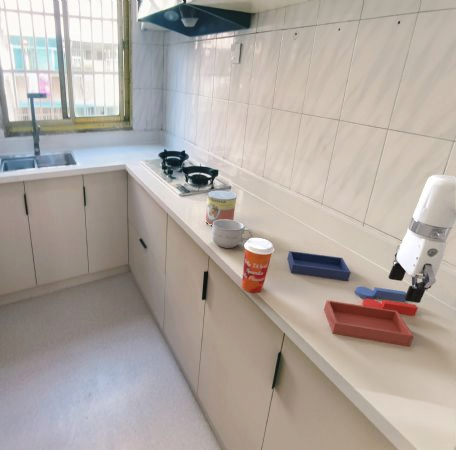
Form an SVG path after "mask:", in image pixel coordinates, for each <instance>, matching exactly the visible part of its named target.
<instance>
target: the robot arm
mask: <svg viewBox="0 0 456 450" xmlns="http://www.w3.org/2000/svg"><path fill="white" fill-rule="evenodd" d="M455 223H456V176H454V175H449V174H432V175H430V176H429V177H428V178H427V180H426V182H425V184H424V187H423V188H422V192H421V193H420V197H419V199H418V202H417V204H416V207H415V209H414V211H413V214H412V217H411V219H410V222H409V224H408V227H407V231H406V233H405V235H404V237H403V239H402V241H401V243H400V244H398V245H397V246H396V250H395V251H396V252H395V254H394V260H393V262H392V264H393V265H392V267H391V270H390V272H389V274H388V278H387V279H389V280H392V281H398V282H402V281H403V280H404V278H405V275H406V273H407V274H408V275H409V276H410V277H411V285H409V286H408V288H407V291H406V295H405V298H404V299H405V302H410V303H415V304H419V303H421V301H422V299H423V296H424V294H425V292H426V291H428V290H429V289H431V287H433V285H434V284H435V283H436V281H437V279H436V276H437V274H438V272H439V269H440V266H441V263H442V261H443V258H444V255H445V251H446V246H447V239H448V238H449V236H450V233H451V231H452V229H453V226H454V224H455ZM419 274H420V275H419ZM418 280H421V281H419V282H418Z"/></svg>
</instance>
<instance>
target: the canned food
mask: <svg viewBox="0 0 456 450" xmlns="http://www.w3.org/2000/svg"><path fill="white" fill-rule="evenodd" d="M237 196H238V195H237V194H236V193H234V192H232V191H228V190H220V189H214V190H210V191H208V192H207V201H206V210H205V211H206V213H205V220H206V221H207V222H208V223H209V224H212V225H213V222H214V221H216V220H220V219H228V220H234V219H235V218H234V217H235V211H236V210H235V209H236V202H237Z"/></svg>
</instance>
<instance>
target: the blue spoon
mask: <svg viewBox="0 0 456 450" xmlns="http://www.w3.org/2000/svg"><path fill="white" fill-rule="evenodd" d="M354 293H355V295H356V296H357V297H359V298H361V299H363V300H364V299H373V300H374V298H375V299H382V300H387V301H394V302H401V303H406V301H405V299H404V298H405V295H406V293H407V291H405V290H404V291H402V290H396V289H389V288H383V287H376V286H375V287H374V288H373V289H371V288H369V287H366V286H361V285H360V286H357V287H356V288H355V291H354Z"/></svg>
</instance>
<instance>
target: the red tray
mask: <svg viewBox="0 0 456 450" xmlns="http://www.w3.org/2000/svg"><path fill="white" fill-rule="evenodd" d="M323 311H324V314H325V316H326V319H327V322H328V325H329V327H330V330H331V333H332V334H335V335H340V336H345V337H352V338H357V339H362V340H363V339H364V340H369V341H376V342H381V343H387V344H393V345H398V346H404V347H411V344H412V342H413V341H414V338H415V335H414V334H413V332H412V331H411V330H410V327H409V326H408V325H407V324H406V322H405V321H404V319H403V318H402V316H401V314H400V313H398V312H397V311H394V310H388V309H381V308H374V307H368V306H362V304H354V303H348V302H341V301H335V300H329V299H327V300H326V301H325V304H324V308H323Z"/></svg>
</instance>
